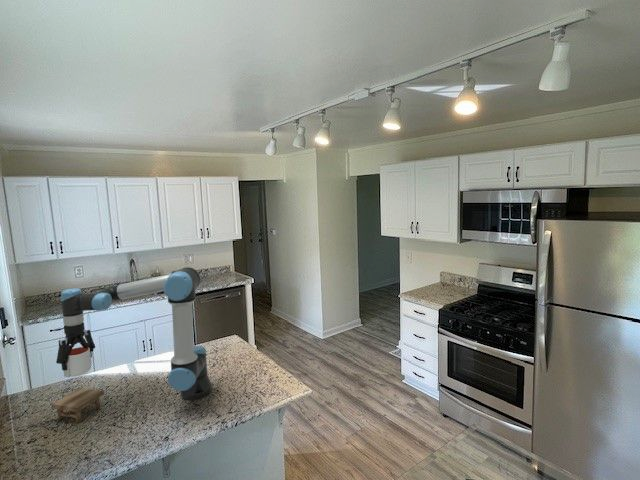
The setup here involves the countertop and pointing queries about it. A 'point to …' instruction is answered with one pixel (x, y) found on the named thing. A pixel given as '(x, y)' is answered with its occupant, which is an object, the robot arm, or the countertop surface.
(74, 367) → the cup
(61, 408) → the stool
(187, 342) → the robot arm
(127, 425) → the countertop surface
